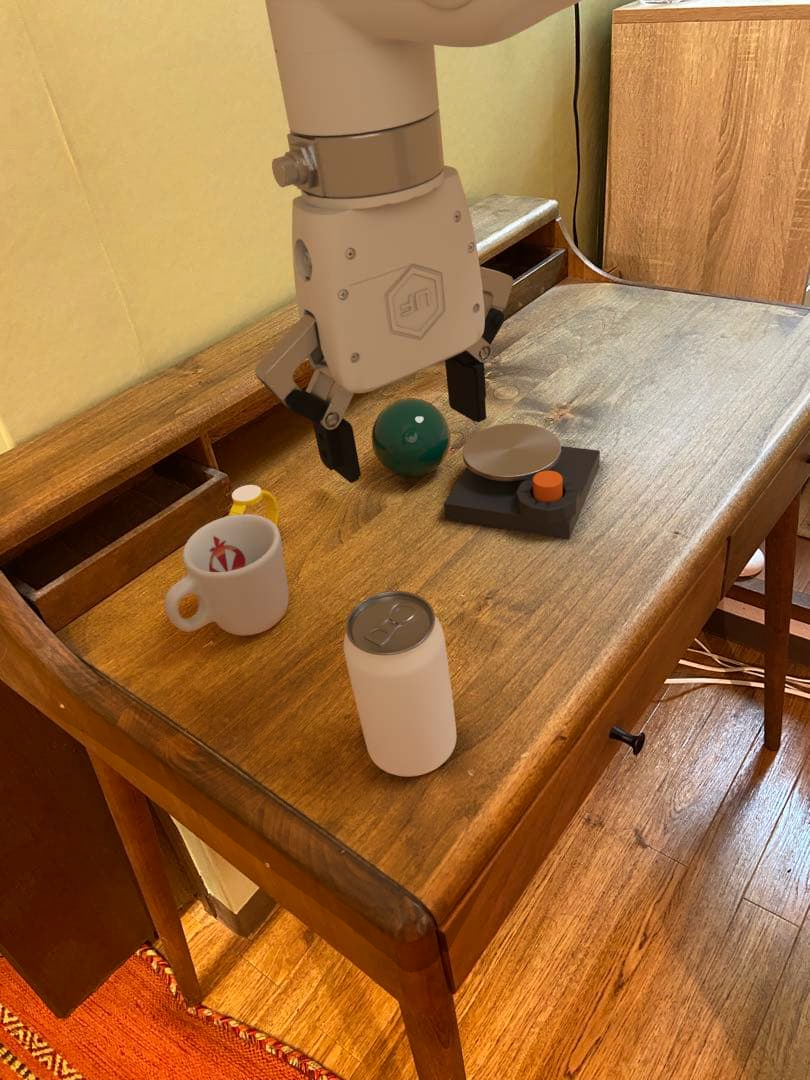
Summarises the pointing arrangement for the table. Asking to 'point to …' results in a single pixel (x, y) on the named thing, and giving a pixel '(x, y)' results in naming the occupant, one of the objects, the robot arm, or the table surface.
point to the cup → (233, 576)
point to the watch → (254, 501)
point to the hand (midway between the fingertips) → (408, 442)
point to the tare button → (547, 486)
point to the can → (401, 682)
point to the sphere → (410, 438)
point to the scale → (526, 498)
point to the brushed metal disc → (511, 452)
